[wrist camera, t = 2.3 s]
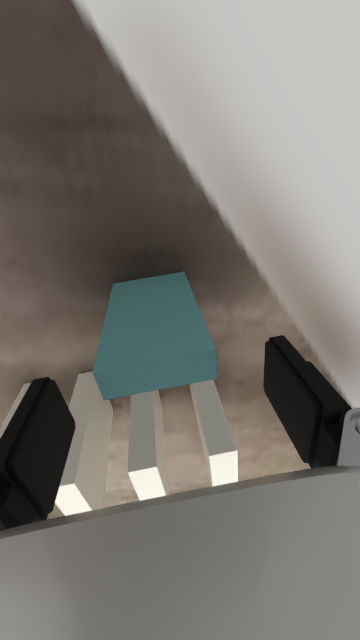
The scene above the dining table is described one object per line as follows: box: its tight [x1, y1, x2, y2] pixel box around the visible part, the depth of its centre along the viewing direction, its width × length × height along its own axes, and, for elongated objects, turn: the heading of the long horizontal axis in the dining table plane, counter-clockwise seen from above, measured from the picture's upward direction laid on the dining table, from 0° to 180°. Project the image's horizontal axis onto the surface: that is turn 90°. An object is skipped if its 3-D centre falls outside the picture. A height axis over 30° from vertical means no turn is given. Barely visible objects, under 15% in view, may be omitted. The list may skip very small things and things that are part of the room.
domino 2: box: [92, 272, 218, 400], centre depth 15 cm, size 5×2×9 cm, turn 97°
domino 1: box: [55, 371, 113, 516], centre depth 19 cm, size 5×2×9 cm, turn 7°
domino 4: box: [190, 380, 238, 487], centre depth 19 cm, size 5×2×9 cm, turn 7°
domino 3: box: [128, 390, 169, 501], centre depth 19 cm, size 5×2×9 cm, turn 7°
